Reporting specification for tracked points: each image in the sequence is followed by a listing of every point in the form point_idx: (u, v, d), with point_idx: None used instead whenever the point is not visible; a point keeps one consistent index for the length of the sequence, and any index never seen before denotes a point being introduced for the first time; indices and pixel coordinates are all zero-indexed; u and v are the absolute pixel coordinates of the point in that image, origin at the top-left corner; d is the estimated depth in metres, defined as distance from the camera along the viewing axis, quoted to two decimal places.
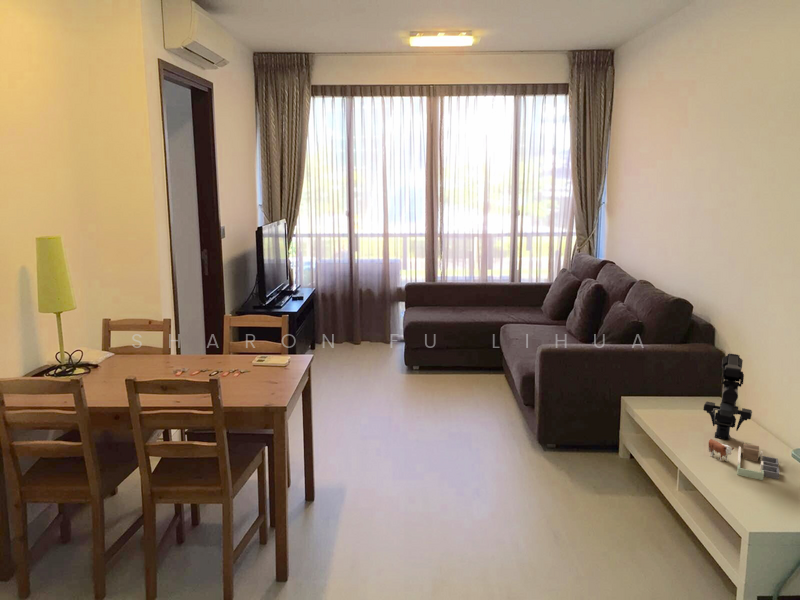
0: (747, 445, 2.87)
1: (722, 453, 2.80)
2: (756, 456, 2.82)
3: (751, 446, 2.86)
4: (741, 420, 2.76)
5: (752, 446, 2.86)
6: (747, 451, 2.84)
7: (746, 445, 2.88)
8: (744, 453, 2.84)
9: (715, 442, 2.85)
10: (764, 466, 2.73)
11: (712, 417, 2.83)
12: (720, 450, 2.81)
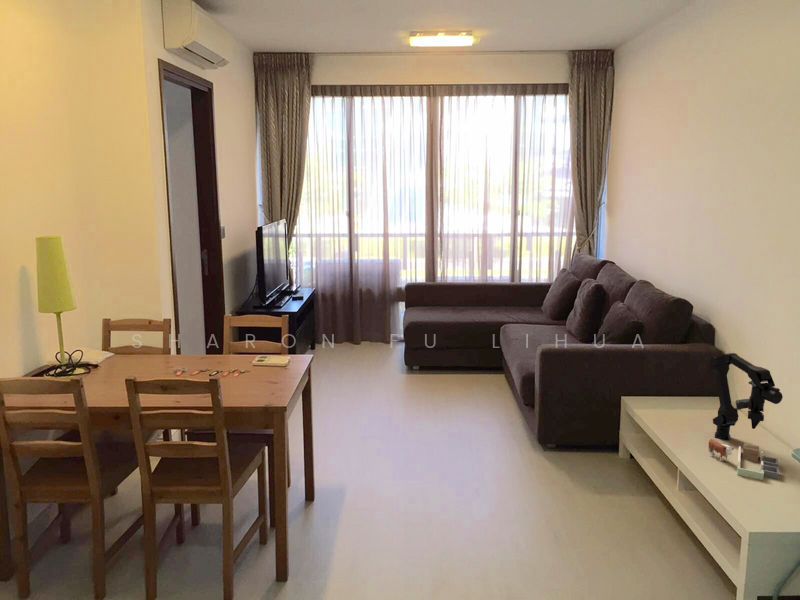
0: (747, 445, 2.87)
1: (722, 453, 2.80)
2: (756, 456, 2.82)
3: (751, 446, 2.86)
4: None
5: (752, 446, 2.86)
6: (747, 451, 2.84)
7: (746, 445, 2.88)
8: (744, 453, 2.84)
9: (715, 442, 2.85)
10: (764, 466, 2.73)
11: None
12: (720, 450, 2.81)
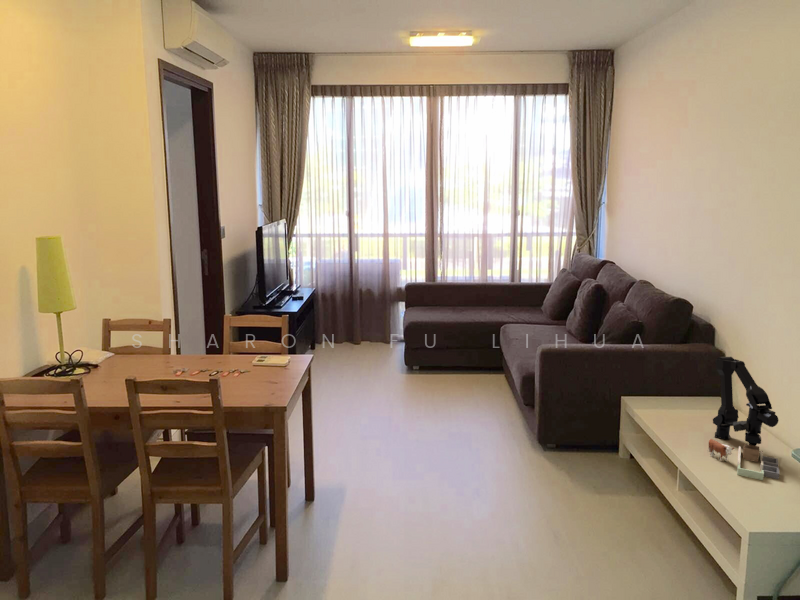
0: (748, 446, 2.86)
1: (722, 453, 2.80)
2: (756, 456, 2.81)
3: (751, 446, 2.85)
4: None
5: (752, 446, 2.85)
6: (747, 451, 2.83)
7: (746, 445, 2.87)
8: (744, 453, 2.84)
9: (715, 442, 2.85)
10: (764, 466, 2.73)
11: None
12: (720, 450, 2.81)
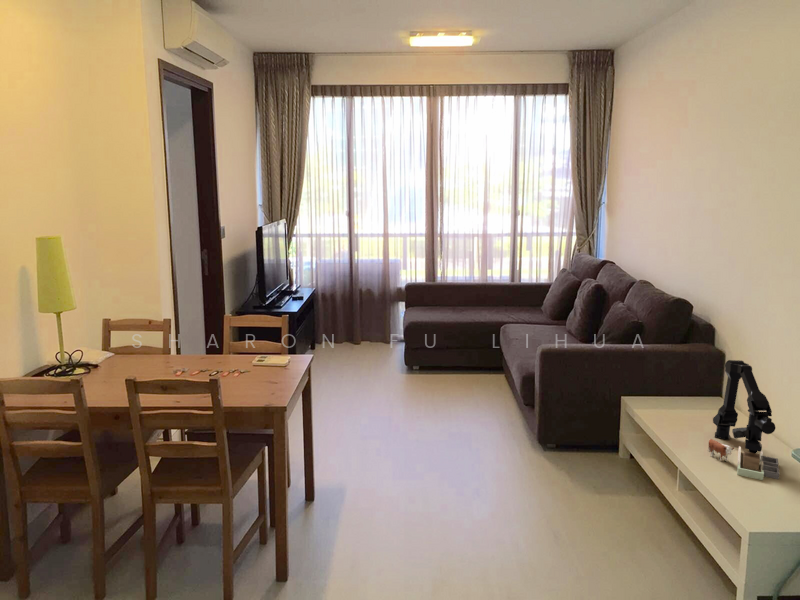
0: (748, 453, 2.78)
1: (722, 453, 2.80)
2: (757, 465, 2.73)
3: (751, 454, 2.77)
4: None
5: (752, 454, 2.77)
6: (747, 459, 2.75)
7: (746, 453, 2.79)
8: (744, 461, 2.76)
9: (715, 442, 2.85)
10: (764, 466, 2.73)
11: None
12: (720, 450, 2.81)
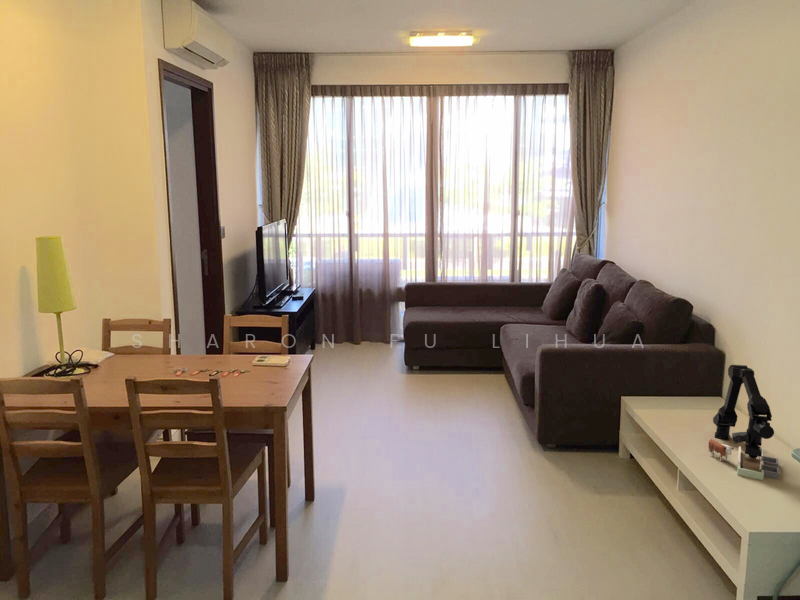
0: (748, 458, 2.73)
1: (722, 453, 2.80)
2: (757, 470, 2.68)
3: (752, 459, 2.72)
4: None
5: (753, 459, 2.72)
6: (747, 465, 2.70)
7: (746, 458, 2.74)
8: (744, 467, 2.71)
9: (715, 442, 2.85)
10: (764, 466, 2.73)
11: None
12: (720, 450, 2.81)
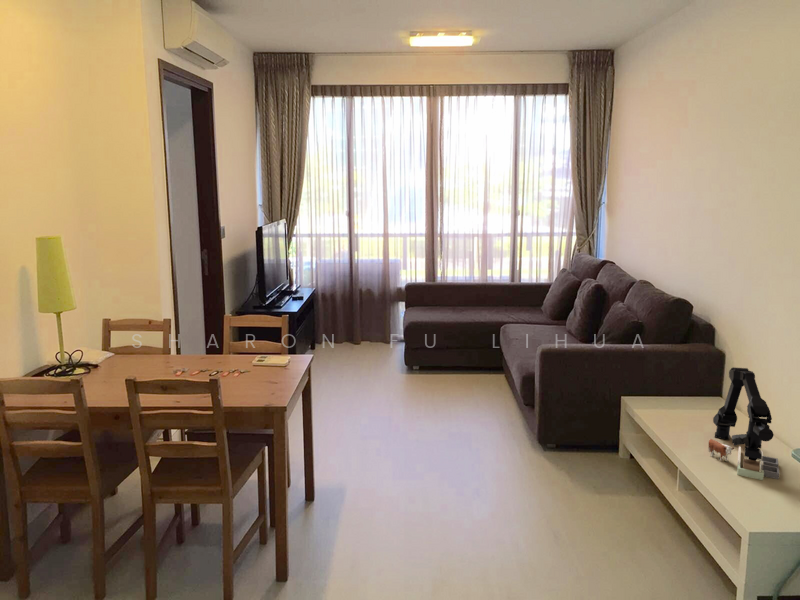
0: (748, 461, 2.71)
1: (722, 453, 2.80)
2: None
3: (751, 461, 2.70)
4: None
5: (752, 461, 2.70)
6: (747, 467, 2.68)
7: (746, 460, 2.71)
8: None
9: (715, 442, 2.85)
10: (764, 466, 2.73)
11: None
12: (720, 450, 2.81)
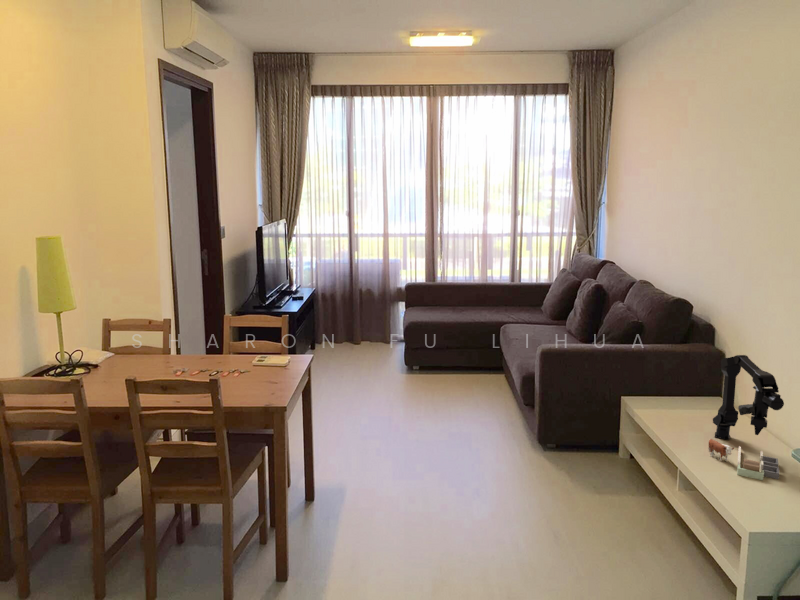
0: (748, 461, 2.71)
1: (722, 453, 2.80)
2: None
3: (751, 462, 2.70)
4: None
5: (752, 462, 2.70)
6: (747, 467, 2.68)
7: (746, 460, 2.72)
8: None
9: (715, 442, 2.85)
10: (764, 466, 2.73)
11: None
12: (720, 450, 2.81)
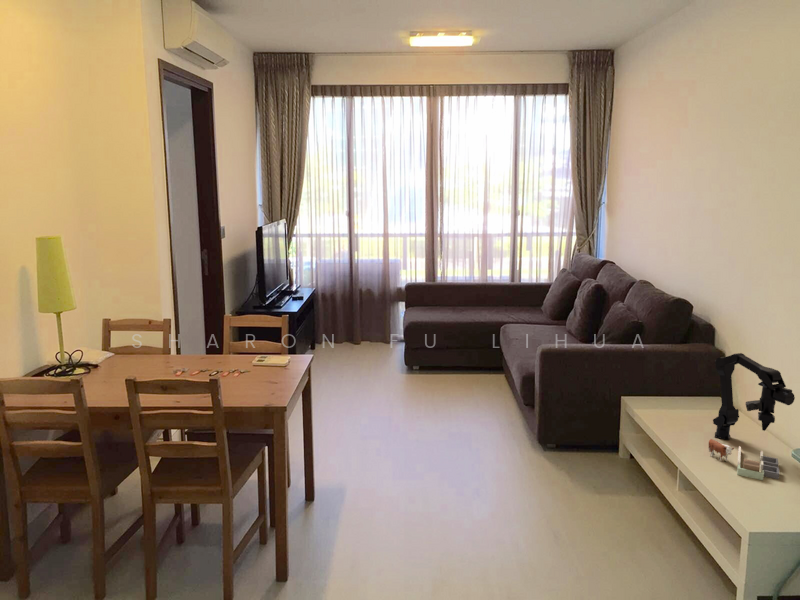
0: (748, 461, 2.71)
1: (722, 453, 2.80)
2: None
3: (751, 462, 2.70)
4: None
5: (752, 462, 2.70)
6: (747, 467, 2.68)
7: (746, 460, 2.72)
8: None
9: (715, 442, 2.85)
10: (764, 466, 2.73)
11: None
12: (720, 450, 2.81)
